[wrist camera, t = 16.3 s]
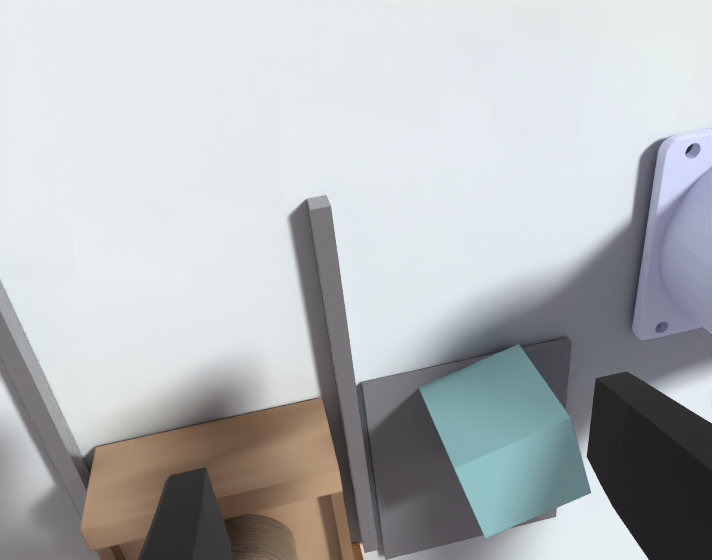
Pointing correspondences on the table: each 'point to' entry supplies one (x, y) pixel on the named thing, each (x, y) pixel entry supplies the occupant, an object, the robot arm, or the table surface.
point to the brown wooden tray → (226, 480)
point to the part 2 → (507, 439)
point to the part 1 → (260, 538)
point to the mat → (431, 455)
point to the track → (11, 345)
